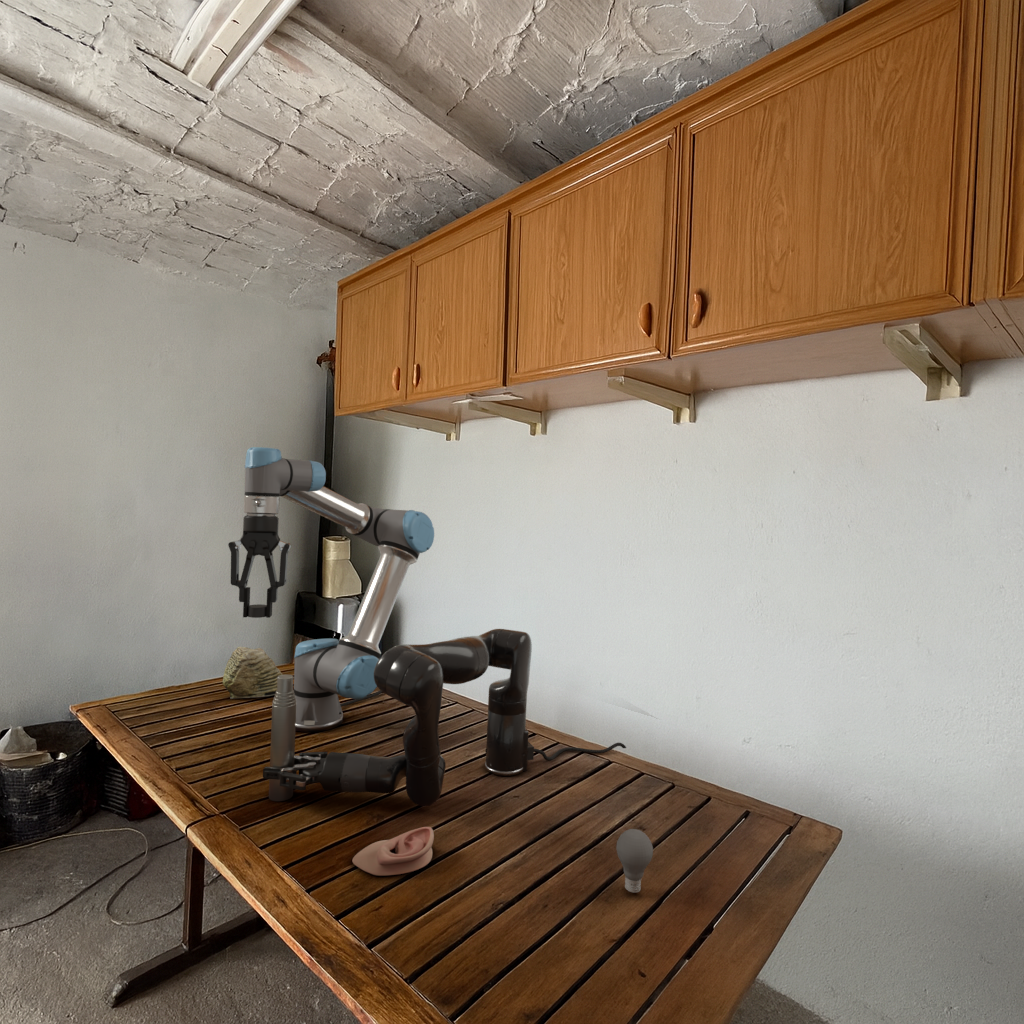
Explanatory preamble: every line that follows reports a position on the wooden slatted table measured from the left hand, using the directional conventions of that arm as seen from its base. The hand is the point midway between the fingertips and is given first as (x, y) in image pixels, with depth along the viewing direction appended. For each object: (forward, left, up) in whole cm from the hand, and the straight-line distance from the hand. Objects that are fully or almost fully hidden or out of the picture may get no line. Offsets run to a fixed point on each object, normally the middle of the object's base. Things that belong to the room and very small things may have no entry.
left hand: (257, 616), depth 146 cm
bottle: (+3, +17, -35) cm, 39 cm away
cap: (0, 0, +2) cm, 2 cm away
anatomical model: (+2, +52, -35) cm, 63 cm away
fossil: (-28, -48, -35) cm, 66 cm away
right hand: (+5, +15, -29) cm, 33 cm away
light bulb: (-18, +88, -35) cm, 97 cm away
